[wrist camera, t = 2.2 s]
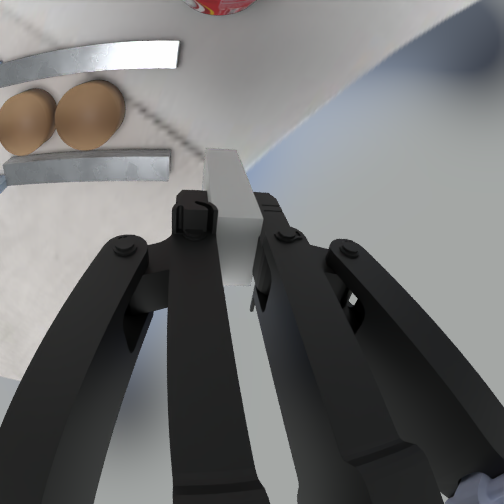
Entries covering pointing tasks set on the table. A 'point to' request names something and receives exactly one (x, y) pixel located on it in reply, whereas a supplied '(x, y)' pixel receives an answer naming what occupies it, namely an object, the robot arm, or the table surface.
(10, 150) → the disc
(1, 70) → the slot rails
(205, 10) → the soda can
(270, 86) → the table surface
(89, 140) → the disc
